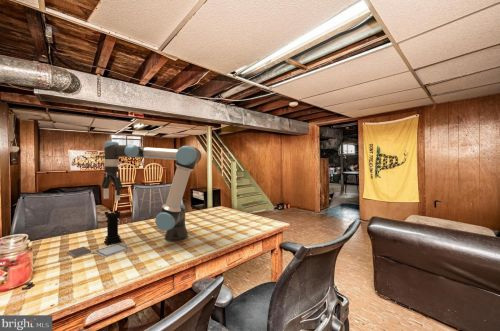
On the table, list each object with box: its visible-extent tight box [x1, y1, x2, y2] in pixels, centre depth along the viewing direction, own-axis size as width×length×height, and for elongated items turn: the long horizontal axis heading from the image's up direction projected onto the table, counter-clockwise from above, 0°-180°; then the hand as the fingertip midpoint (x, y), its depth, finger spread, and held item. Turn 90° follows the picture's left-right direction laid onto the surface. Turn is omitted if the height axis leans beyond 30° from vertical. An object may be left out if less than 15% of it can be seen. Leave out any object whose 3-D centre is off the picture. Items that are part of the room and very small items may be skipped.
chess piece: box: [103, 209, 123, 247], centre depth 134 cm, size 8×8×20 cm
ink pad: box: [66, 246, 92, 258], centre depth 118 cm, size 8×10×2 cm
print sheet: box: [93, 243, 132, 258], centre depth 122 cm, size 14×14×1 cm
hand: (111, 199), depth 130 cm, fingers open, 13 cm apart
